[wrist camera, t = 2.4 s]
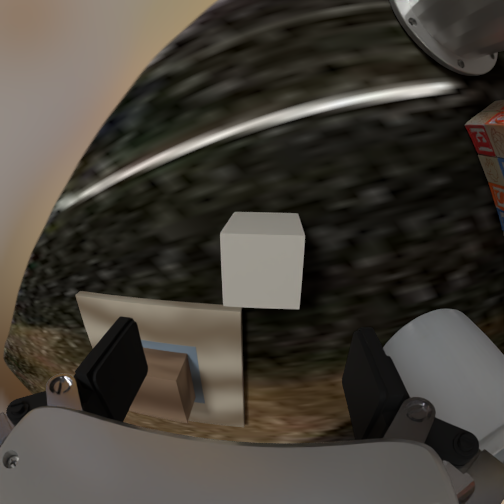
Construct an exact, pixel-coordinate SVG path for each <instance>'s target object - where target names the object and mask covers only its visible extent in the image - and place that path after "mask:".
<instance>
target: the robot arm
mask: <svg viewBox="0 0 504 504" xmlns="http://www.w3.org/2000/svg"><path fill="white" fill-rule="evenodd" d="M390 4H391V6H392V9H393V11H394V13H395V15H396V17H397V19H398V20H399V22H400V24H401V25H402V27H403V28H404V29H405V31H406V32H407V33H408V35H409V36H410V37H411V38H412V39H413V40H414V42H415V43H416V44H417V45H418V46H419V47H420V48H421V49H422V50H423V51H424V52H425V53H427V54H428V55H429V56H430V57H431V58H433V59H434V60H435V61H437V62H438V63H439V64H441V65H443V66H444V67H446V68H447V69H449V70H451V71H454V72H456V73H458V74H462V75H466V76H478V75H482V74H485V73H487V72H489V71H490V70H491V69H492V68H493V67H494V66H495V63H496V61H497V54H498V52H500V51H504V0H390ZM75 373H76V374H75V375H74V377H73V376H72V375H69V374H64V373H63V374H58V375H55V376H54V377H52V378H51V379H50V380H49V381H48V383H47V385H46V391H44V392H40V393H37V394H33V395H30V396H26V397H23V398H19V399H16V400H14V401H12V402H11V403H10V405H9V406H8V408H7V412H6V414H4V413H3V412H2V413H0V504H501V503H502V501H503V500H504V464H503V463H502V462H501V461H499V460H498V459H497V458H496V457H494V456H493V455H492V454H490V453H489V452H488V451H487V450H485V449H484V450H483V451H481V450H480V449H479V441H478V439H477V437H476V436H475V435H474V434H473V433H471V432H469V431H467V430H464V429H462V428H459V427H457V426H454V425H452V424H450V423H447V422H445V421H443V420H440V419H438V418H436V417H435V414H436V411H435V407H434V406H433V404H432V403H431V402H430V401H428V400H426V399H425V398H421V397H412V398H410V396H409V394H408V392H407V390H406V388H405V385H404V383H403V381H402V379H401V377H400V375H399V373H398V371H397V369H396V367H395V365H394V363H393V360H392V359H391V357H390V356H387V355H386V353H385V351H384V349H383V347H382V345H381V343H380V341H379V339H378V337H377V335H376V333H375V331H374V329H373V328H372V327H366V328H359V329H358V331H355V332H354V334H353V338H352V342H351V346H350V350H349V354H348V358H347V362H346V366H345V370H344V374H343V378H342V385H343V389H344V393H345V397H346V401H347V405H348V409H349V413H350V418H351V422H352V426H353V431H354V435H355V440H351V441H340V442H324V443H296V444H276V443H249V442H235V441H224V440H214V439H206V438H198V437H192V436H185V435H179V434H173V433H168V432H163V431H158V430H153V429H148V428H144V427H140V426H136V425H132V424H128V423H124V422H123V420H124V418H125V416H126V414H127V412H128V410H129V408H130V406H131V404H132V402H133V401H134V399H135V397H136V395H137V393H138V391H139V389H140V387H141V385H142V383H143V381H144V379H145V377H146V375H147V373H148V365H147V361H146V357H145V354H144V350H143V346H142V342H141V338H140V334H139V329H138V325H137V323H136V322H135V321H134V320H133V318H130V317H122V316H121V317H119V318H118V319H117V320H116V321H115V323H114V324H113V325H112V326H111V327H110V329H109V330H108V331H107V332H106V333H105V335H104V336H103V337H102V338H101V340H100V341H99V342H98V343H97V344H96V346H95V347H94V348H93V349H92V351H91V352H90V353H89V354H88V356H87V357H86V358H85V359H84V361H83V362H82V363H81V364H80V366H79V367H78V368H77V370H76V371H75Z"/></svg>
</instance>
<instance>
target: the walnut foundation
mask: <svg viewBox="0 0 504 504" xmlns="http://www.w3.org/2000/svg"><path fill="white" fill-rule="evenodd" d="M143 350H144V354H145V357H146V361H147V365H148V373H147V375H146V377H145V379H144V381H143V383H142V385H141V387H140V389H139V391H138V393H137V395H136V397H135V399H134V401H133V402H132V404H131V406H130V408H129V410H130V411H132V412H136V413H140V414H145V415H149V416H153V417H158V418H162V419H167V420H173V421H178V422H184V423H188V420H189V417H190V414H191V410H192V407H193V404H194V401H195V398H196V397H195V392H194V387H193V382H192V377H191V371H190V366H189V361H188V355H187V354H186V353H178V352H170V351H163V350H157V349H150V348H144V347H143Z"/></svg>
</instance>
